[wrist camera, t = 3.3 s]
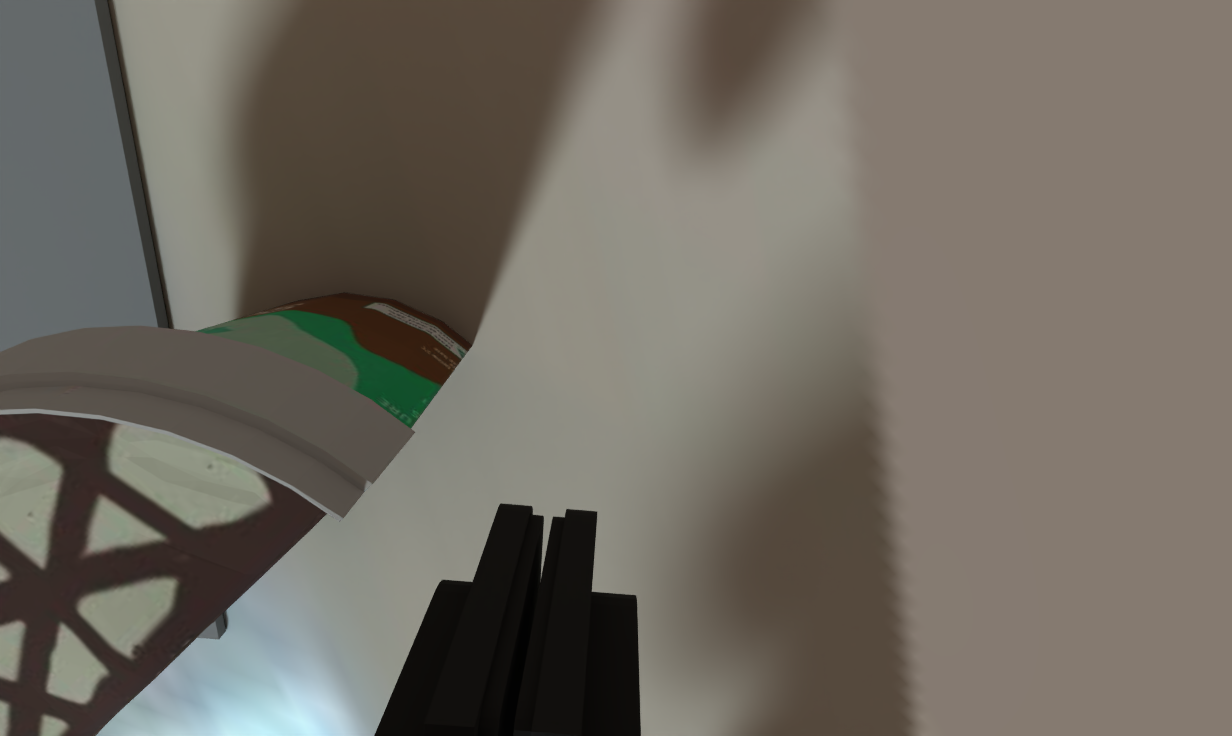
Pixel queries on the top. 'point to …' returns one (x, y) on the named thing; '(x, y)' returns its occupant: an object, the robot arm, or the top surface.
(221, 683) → the top surface
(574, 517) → the robot arm
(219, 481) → the food container
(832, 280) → the top surface
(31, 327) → the rubber mat
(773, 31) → the top surface
